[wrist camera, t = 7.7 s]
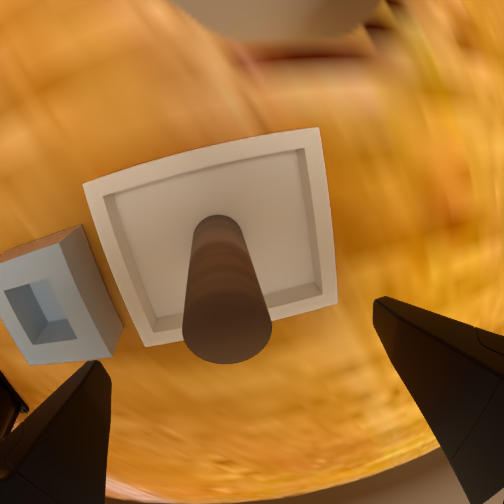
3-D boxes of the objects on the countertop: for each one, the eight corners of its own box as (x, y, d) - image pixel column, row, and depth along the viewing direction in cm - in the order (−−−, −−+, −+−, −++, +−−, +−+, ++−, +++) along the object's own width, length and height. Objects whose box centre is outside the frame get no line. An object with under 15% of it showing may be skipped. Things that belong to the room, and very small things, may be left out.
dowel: (247, 255, 19) (277, 353, 10) (200, 266, 18) (197, 370, 10) (237, 209, 17) (263, 283, 9) (187, 221, 17) (169, 304, 9)
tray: (326, 286, 21) (338, 303, 19) (150, 327, 20) (145, 347, 18) (305, 127, 17) (318, 127, 15) (96, 178, 16) (82, 184, 14)
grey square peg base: (123, 326, 20) (112, 357, 17) (45, 339, 20) (29, 365, 16) (81, 224, 17) (58, 242, 14) (3, 252, 17) (-22, 271, 13)
